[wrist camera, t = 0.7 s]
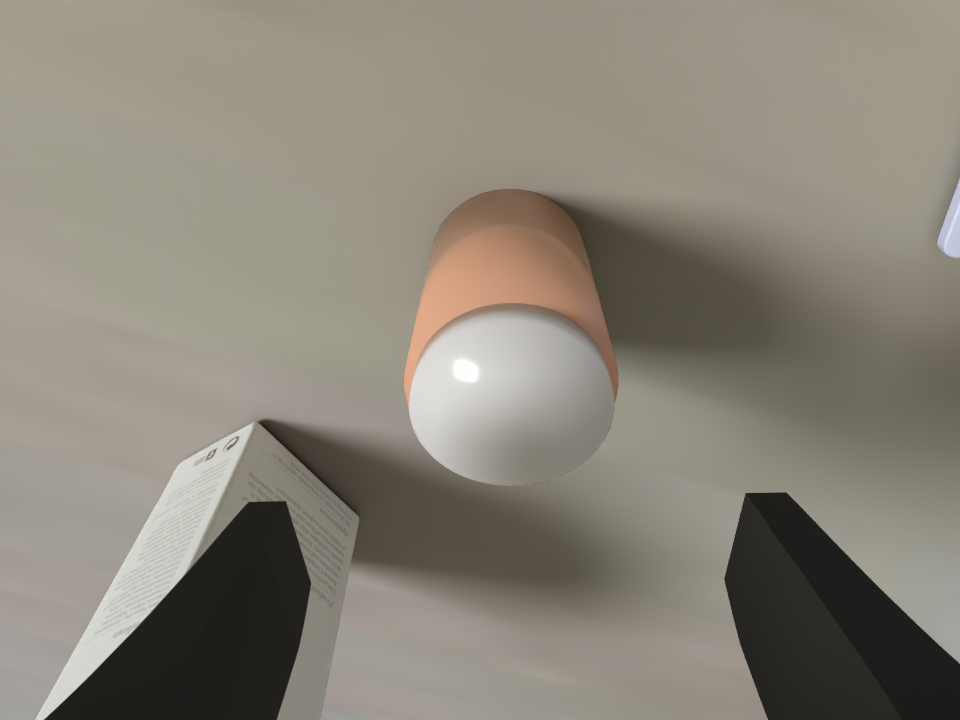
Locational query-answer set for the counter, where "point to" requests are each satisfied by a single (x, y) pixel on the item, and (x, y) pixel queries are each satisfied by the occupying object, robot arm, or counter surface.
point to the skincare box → (193, 528)
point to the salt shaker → (510, 344)
